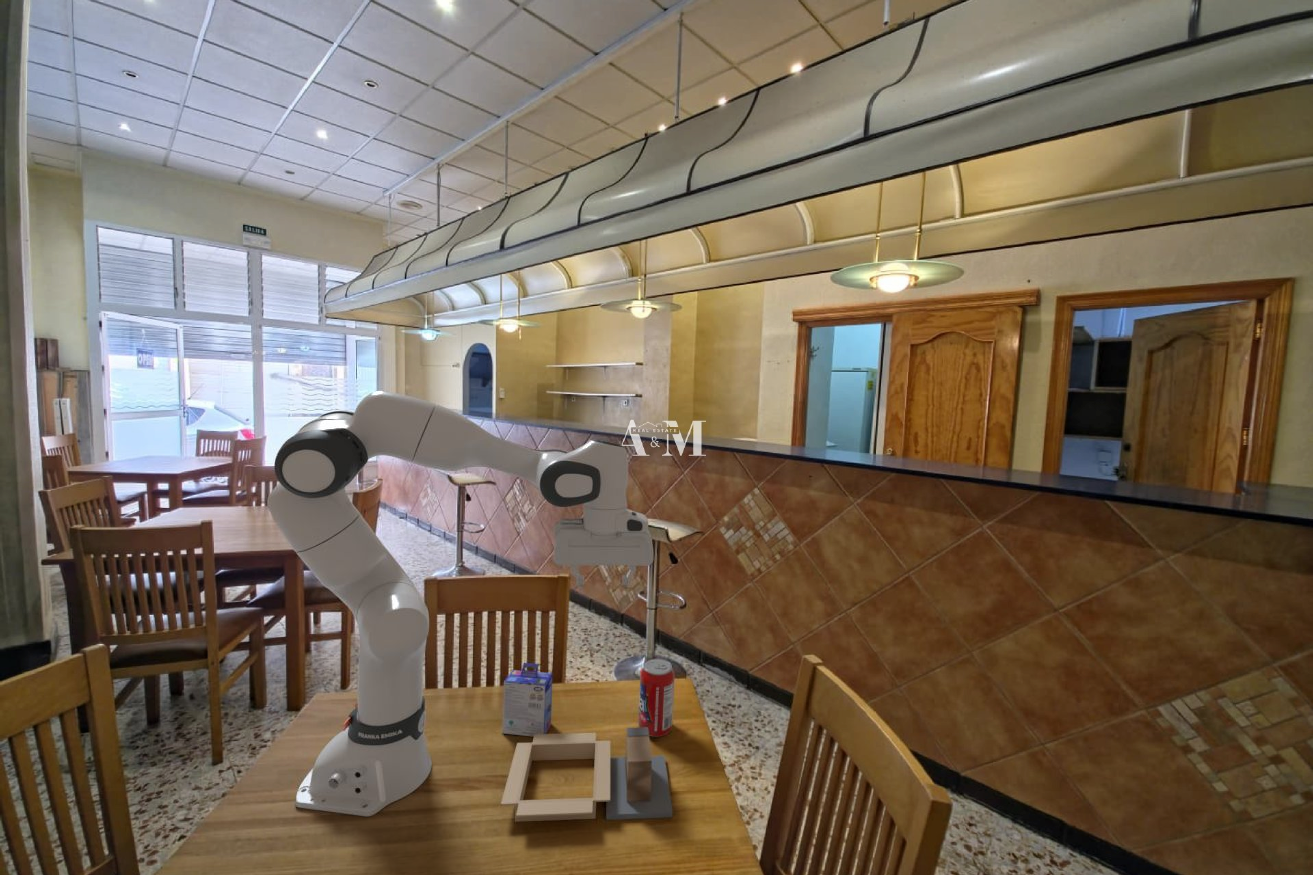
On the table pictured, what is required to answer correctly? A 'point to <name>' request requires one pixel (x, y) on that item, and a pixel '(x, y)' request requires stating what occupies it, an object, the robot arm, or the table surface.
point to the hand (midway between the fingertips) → (603, 585)
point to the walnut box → (638, 765)
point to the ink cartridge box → (527, 702)
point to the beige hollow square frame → (558, 750)
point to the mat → (637, 810)
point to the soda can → (656, 697)
